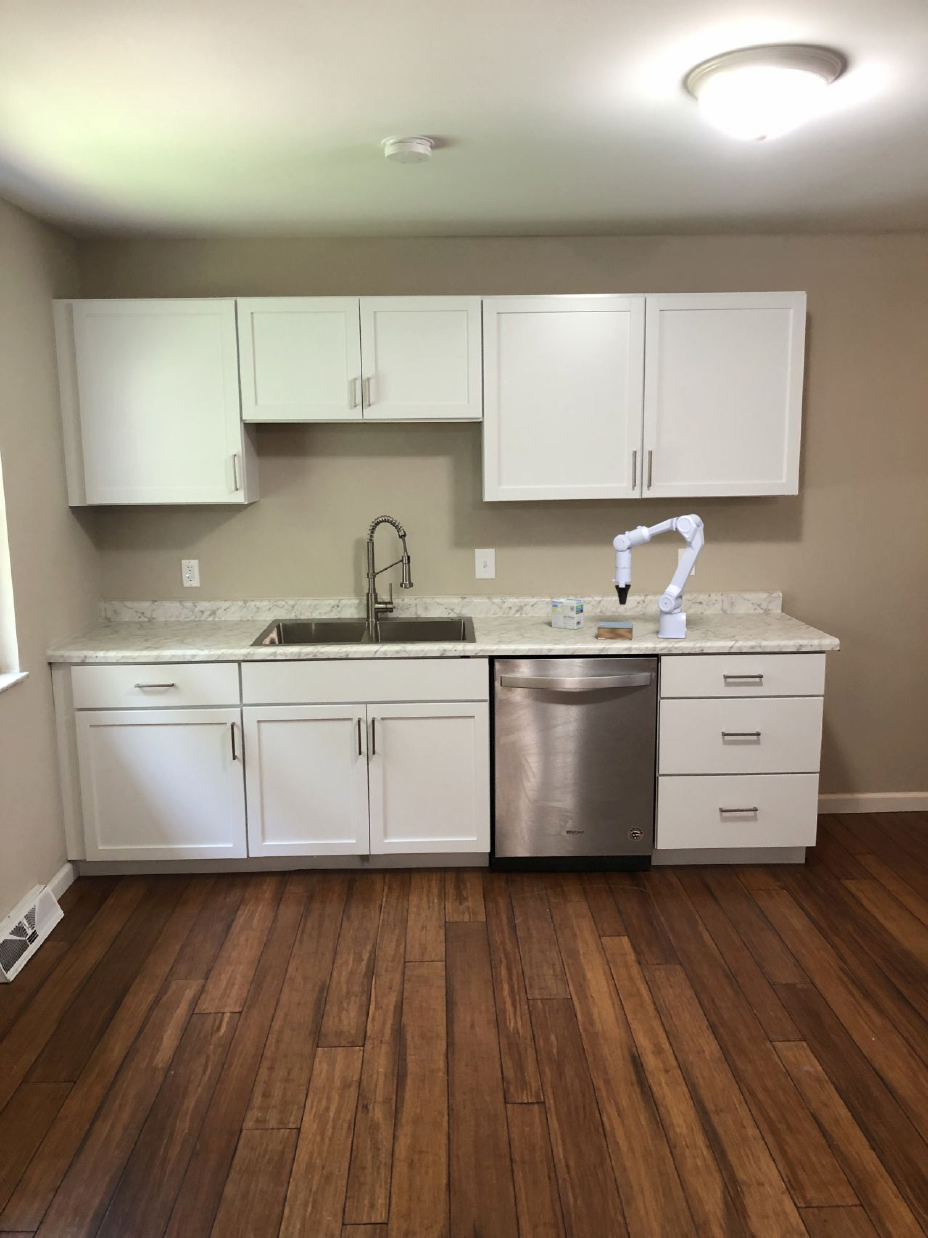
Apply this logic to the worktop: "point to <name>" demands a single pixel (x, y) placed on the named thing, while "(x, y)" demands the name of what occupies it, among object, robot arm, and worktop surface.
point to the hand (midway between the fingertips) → (622, 604)
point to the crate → (615, 633)
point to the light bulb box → (567, 613)
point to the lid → (615, 625)
